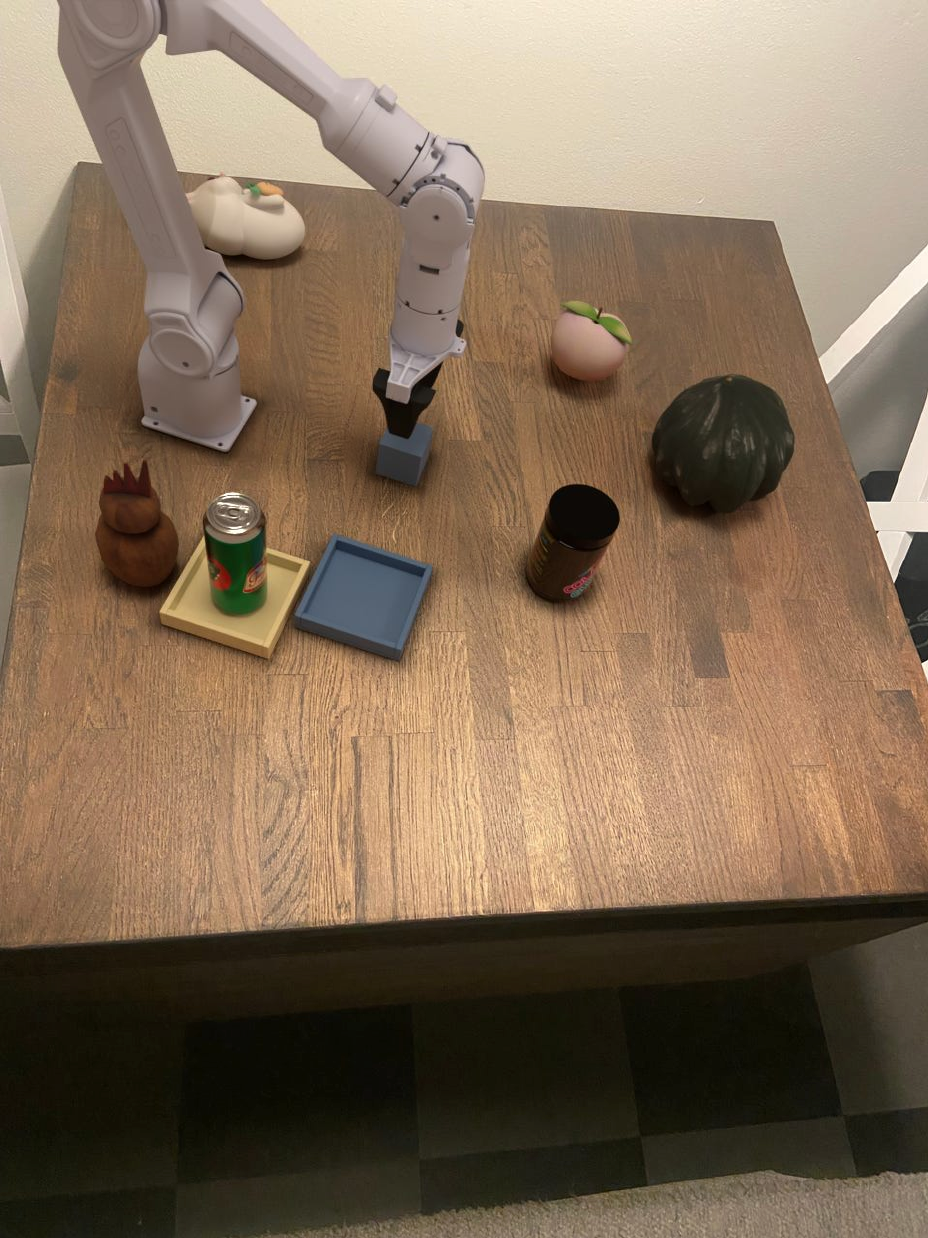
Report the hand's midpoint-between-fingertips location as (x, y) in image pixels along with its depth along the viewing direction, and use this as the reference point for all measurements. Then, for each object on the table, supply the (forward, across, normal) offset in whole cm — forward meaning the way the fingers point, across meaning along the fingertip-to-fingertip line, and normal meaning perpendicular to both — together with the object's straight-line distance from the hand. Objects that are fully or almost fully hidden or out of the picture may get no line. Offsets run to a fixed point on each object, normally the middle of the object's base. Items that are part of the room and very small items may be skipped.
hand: (411, 408), depth 90 cm
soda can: (+8, -22, +9) cm, 25 cm away
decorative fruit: (+9, +22, -15) cm, 28 cm away
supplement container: (+9, -8, -19) cm, 22 cm away
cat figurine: (+8, +26, +29) cm, 40 cm away
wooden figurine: (+8, -22, +18) cm, 30 cm away
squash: (+9, +12, -32) cm, 35 cm away
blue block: (+8, 0, 0) cm, 8 cm away
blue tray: (+8, -18, -2) cm, 20 cm away
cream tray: (+8, -22, +9) cm, 25 cm away
